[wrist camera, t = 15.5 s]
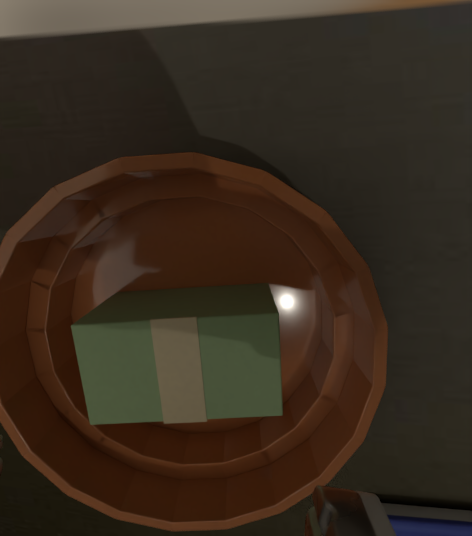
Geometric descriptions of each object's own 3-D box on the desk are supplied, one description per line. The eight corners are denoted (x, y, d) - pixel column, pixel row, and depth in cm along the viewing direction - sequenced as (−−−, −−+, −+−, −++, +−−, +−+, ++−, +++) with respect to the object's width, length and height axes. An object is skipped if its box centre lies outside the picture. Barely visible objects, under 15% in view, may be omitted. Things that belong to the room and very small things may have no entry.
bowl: (23, 180, 17) (-75, 171, 12) (346, 157, 17) (396, 136, 11) (80, 451, 21) (25, 537, 16) (344, 439, 21) (380, 524, 15)
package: (116, 290, 18) (69, 324, 13) (268, 281, 18) (279, 312, 13) (128, 368, 19) (89, 427, 14) (272, 361, 19) (283, 418, 14)
